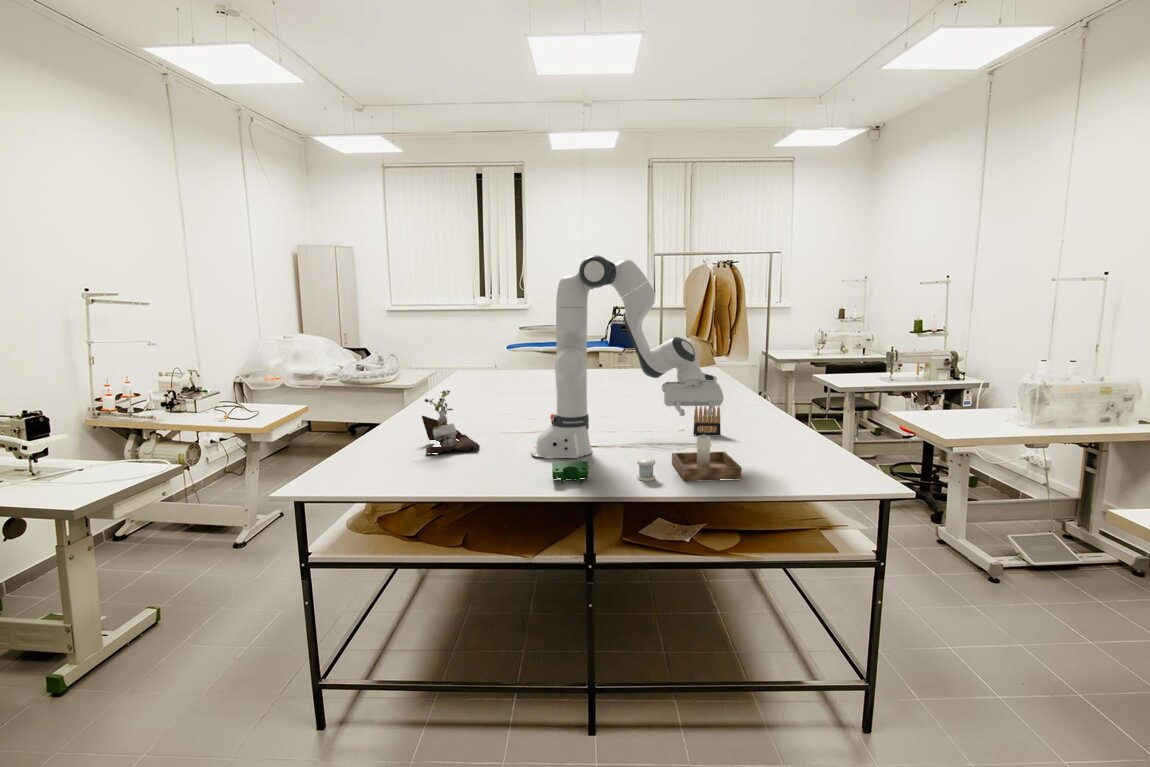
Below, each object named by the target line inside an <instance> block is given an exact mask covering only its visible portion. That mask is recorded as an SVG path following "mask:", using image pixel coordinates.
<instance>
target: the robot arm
mask: <svg viewBox="0 0 1150 767" xmlns="http://www.w3.org/2000/svg"><path fill="white" fill-rule="evenodd" d="M607 285H610V286H611V287H613V288H614V289H615V291H616V292H617V294H618V295H619V297H620V298H621V300H622V303H623V306H624V311H625V312H624V313H623V321H624V322H623V323H624V325H625V328H626V330H627V332H628V335H629V338H630V340H631V343H632V345H633V347H634V350H635V352H636V355H637V358H638V361H639V365H640V368H641V370H642V372H643V374H644V375H645V376H647V377H650V378H653V379H659V378H660V377H662V376H663V375H665V374H666V373H668V372H669V371H671V370H673V369H676V378H677V379H676V381H666V382H664V383H663V384H662V385H661V390H662V392H663V403H664V405H665V407H674V408H675V410H676V411H677V412H678V413H679V416H680V417H685V414H686V413H685V412H686V411H685V408H682V407H696V406H697V407H700V406H701V407H705V406H706V407H708V409H707V417H708V416H712V413H713V407H714V406H715V407H718V406H719V407H720V406H721V405H722V404H723V402H724V399H725V398H724V393H723V390H722V388H721V385H720V384H719V383H718V381H717V380H718V378H717V376H715V375H712V374H709V373H705V372H703V371H702V370H701V359H700V356H699V353H698V350H697V347H696V345H695V344H694V343H693V342H691V341H689V340H686V339H684V338H681V337H679V336H674V337H672V338H670V339H668V340H666V341H664V342H663V343H662V344H659V345H658V346H655V347H653V348H651V347H650V346H649V344H648V341H647V339H646V335H645V333H644V332H643V329H642V326H643V325H642V324H643V321H644V320H645V318H646V316H648V314H649V313H650V311H651V309H652V308H653V307H654V304H655V301H656V293H655V291H654V288H653V286H652V285H651V283H650V281H649V279H648V278H647V277H646V275H645V274H644V272H643V271H642V270H641V268H640V267H639V266H638V265H637V264H636V263H635V262H634V261H633V260H631V259H627V258H626V259H622V260H619V261H617V262H616V263H613V262H612V261H610V260H608V259H606V258H605V257H603V256H601V255H595V254H593V255H589V256H588V257H586V258H585V259H583V261H582V262H581V263H580V265H579V269H578V272H577V273H576V274H569V275H565V276H563V277H561V279H560V280H559V281H558V286H557V291H556V298H555V299H556V300H555V302H556V303H555V305H556V306H555V333H556V334H555V336H556V338H555V340H556V345H555V346H556V355H555V356H556V357H555V360H554V363H555V364H554V369H555V371H554V373H555V391H556V414H555V413H551V414H550V415H549V416H550V417H549V418H550V420H551V425H549V426H548V427H547V428H546V429H545V430H543V431H542V432H540V434H539V435H538V436H537V441H536V444H535V445H534V446H532V448H531V449H530V455H531V454H532V455H533V456H535V457H553V458H577V457H579V456H581V457H585V456H588V455H590V454H592V452H593V450H592V445H591V442H590V435H589V427H590V418H589V417H590V416H589V413H588V375H587V374H588V371H587V370H588V368H587V367H588V366H587V361H588V360H587V354H588V353H587V351H588V350H587V346H588V345H587V344H588V342H587V341H588V299H589V298H588V295H589V292H590V290H593V289H594V290H595V289H599V288H602V287H604V286H607ZM709 408H710V409H709ZM584 455H585V456H584ZM553 458H552V459H553ZM579 458H580V457H579ZM577 459H578V458H577Z"/></svg>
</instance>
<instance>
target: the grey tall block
mask: <svg viewBox="0 0 1150 767" xmlns="http://www.w3.org/2000/svg"><path fill="white" fill-rule="evenodd" d="M696 452H697V468H706V467H710V452H711V436H707V435H697V436H696Z"/></svg>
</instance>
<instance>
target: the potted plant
mask: <svg viewBox="0 0 1150 767" xmlns="http://www.w3.org/2000/svg"><path fill="white" fill-rule="evenodd" d="M450 393H451V390H448V389H446V390H442V391H441V392H440V394H441V398H439V399H438V402H437V403H434V402H433V401H434V400H435V398H432V399H428V398H425V399H424V403H425V402H426V403H430V404H429V406H431V405H433V407H435V408H434V411H436V412H438V413H437V414H438V415H439V416H438V419H435V418H431V417H428V416H425V415H421V419H422V422H423V426H424V429H425V432H426V435H427V438H428V441H429V440H436V441H439V442H440V445H441V447H431V446H428V447H426V448H425V449H426V450H425V453H426V454H427V453H439V454H441V453H442V452H443V451H446V452H451V450H459V451H464V452H469V451H470V450H471V449H472V448H473V449H475V450H476V451H479V450H480V445H478V444H479V443H478V442H476V441H475V442H474V440H473V439H472V438H471V439H472V440H471V439H469V438H470V437H469V436H468V435H467V434H462V432H460V431H459V430H458V429H457V428H456V425H455V423H453V422H452V423H448V418H447V416H446V415H447V413H448V412H447V411H453V410H454V409H452V408H448V403H447V402H445V401H446V399H445V398H446V397H448V396H449V395H450ZM456 439H458V440H459V441H457V440H456ZM468 450H469V451H468Z"/></svg>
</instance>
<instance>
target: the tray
mask: <svg viewBox="0 0 1150 767" xmlns="http://www.w3.org/2000/svg"><path fill="white" fill-rule="evenodd" d="M671 465H672V467H673V468H674V470H675V471H676V473H677V472H678V473H677V475H678V476H679V475H680V476H679V477H680V479H681V480H682V479H683V480H682V482H684V481H686V482H698V481H697V480H720V479H741V480H742V470H743V468H742V466H741V465H739V464H738V463H737V462H736V461H735V459H733V458H732V457H731V456H730V455H729V454H728V453H727V452H726V451H725V450H724V451H710V467H706V468H697V451H695V452H693V451H692V452H687V451H686V452H671Z"/></svg>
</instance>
